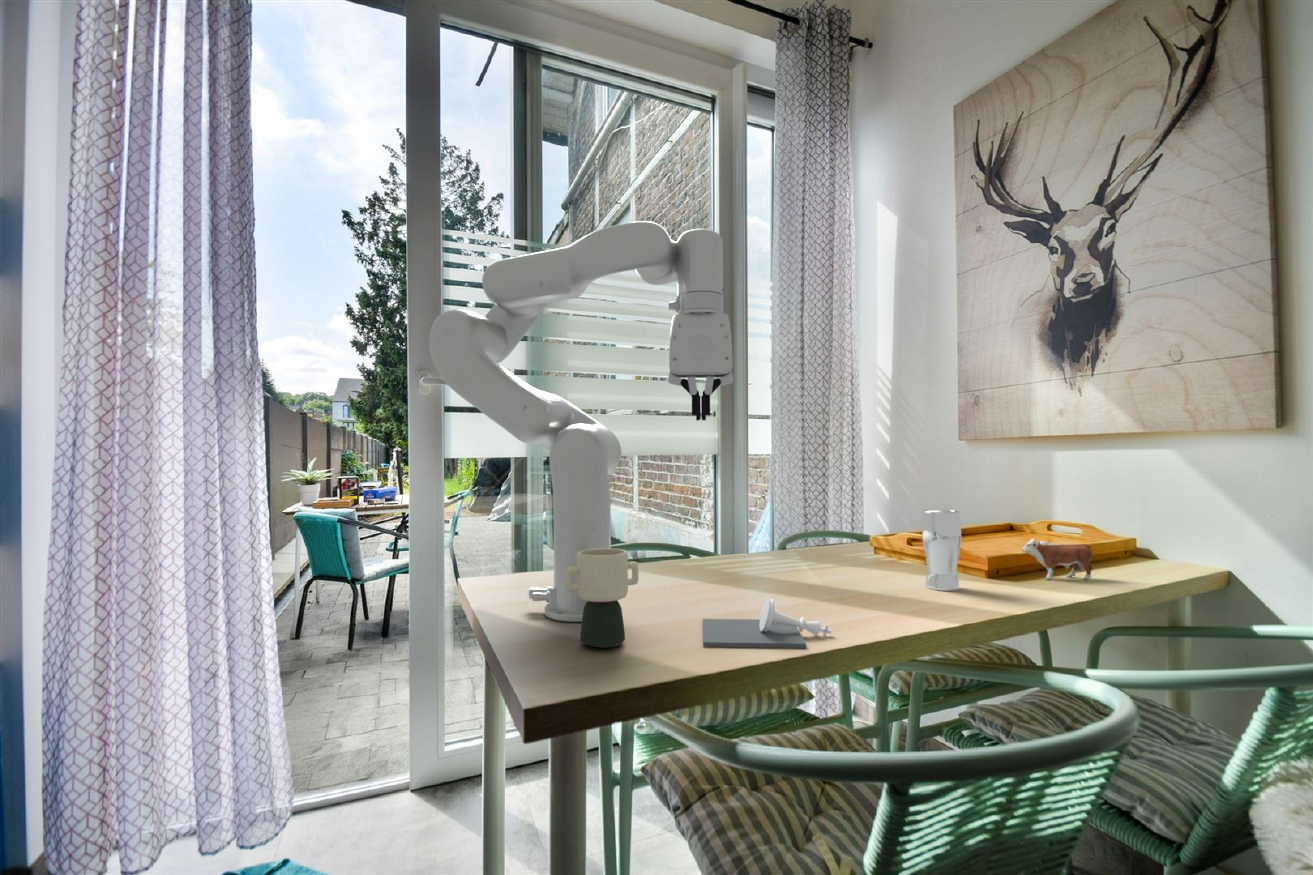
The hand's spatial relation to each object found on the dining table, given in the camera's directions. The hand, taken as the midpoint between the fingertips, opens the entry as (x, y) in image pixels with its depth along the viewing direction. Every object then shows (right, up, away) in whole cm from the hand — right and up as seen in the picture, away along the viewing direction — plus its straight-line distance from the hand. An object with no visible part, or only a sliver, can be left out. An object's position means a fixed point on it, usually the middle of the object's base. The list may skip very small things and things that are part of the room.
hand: (701, 419), depth 101 cm
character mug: (-15, -32, -15) cm, 38 cm away
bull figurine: (+77, -33, +29) cm, 88 cm away
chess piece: (+8, -29, -11) cm, 32 cm away
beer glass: (+49, -33, +20) cm, 62 cm away
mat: (+7, -32, -10) cm, 34 cm away
